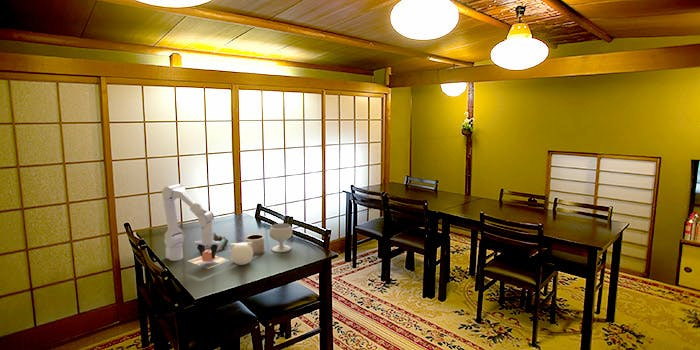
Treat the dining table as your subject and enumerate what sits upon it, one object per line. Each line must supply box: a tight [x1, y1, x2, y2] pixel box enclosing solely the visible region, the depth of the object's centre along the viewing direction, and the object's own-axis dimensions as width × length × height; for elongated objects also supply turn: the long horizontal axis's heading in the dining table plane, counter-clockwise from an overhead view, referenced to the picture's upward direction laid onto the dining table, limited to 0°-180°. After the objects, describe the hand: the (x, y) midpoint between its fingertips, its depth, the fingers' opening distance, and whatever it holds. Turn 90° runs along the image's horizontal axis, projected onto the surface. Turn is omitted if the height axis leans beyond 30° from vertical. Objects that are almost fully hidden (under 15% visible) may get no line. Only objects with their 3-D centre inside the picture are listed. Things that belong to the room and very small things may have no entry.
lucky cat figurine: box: [205, 231, 229, 253], centre depth 233 cm, size 15×12×14 cm
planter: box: [245, 233, 265, 255], centre depth 230 cm, size 11×11×10 cm
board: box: [187, 255, 231, 270], centre depth 214 cm, size 19×14×4 cm
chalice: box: [268, 222, 293, 253], centre depth 234 cm, size 14×14×15 cm
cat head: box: [228, 242, 254, 266], centre depth 211 cm, size 15×13×12 cm
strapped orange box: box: [202, 249, 215, 262], centre depth 209 cm, size 5×5×5 cm
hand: (208, 257), depth 209 cm, fingers closed on strapped orange box, 5 cm apart
